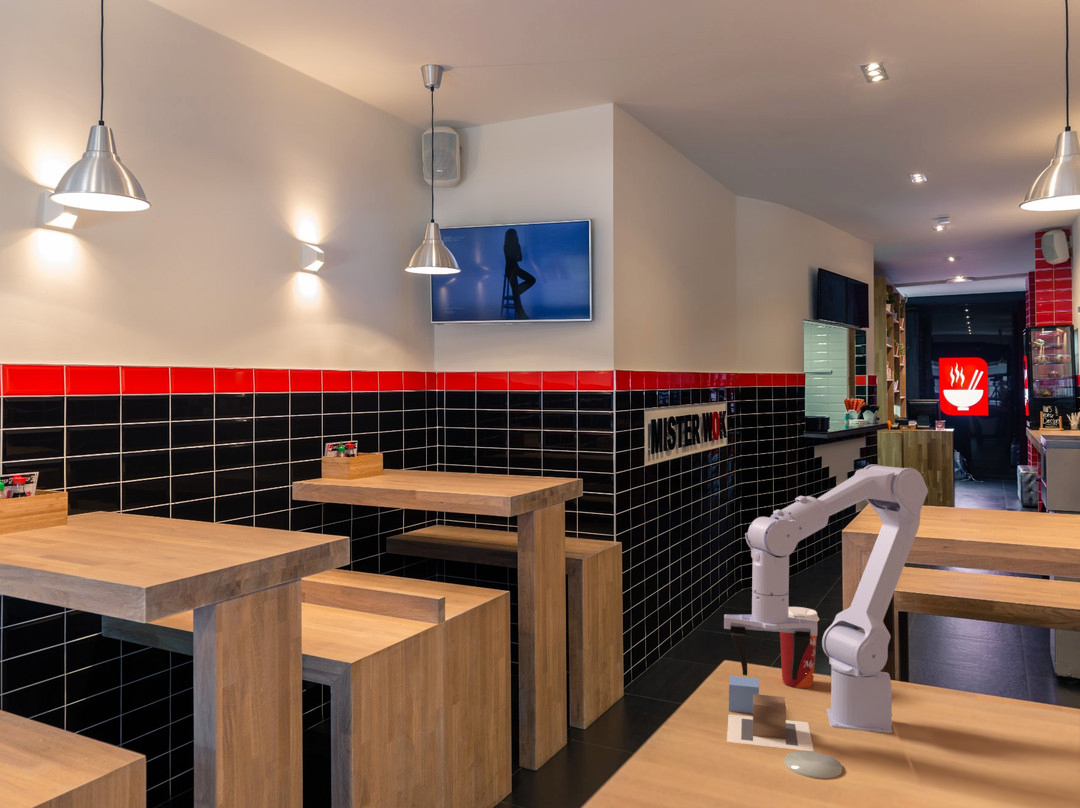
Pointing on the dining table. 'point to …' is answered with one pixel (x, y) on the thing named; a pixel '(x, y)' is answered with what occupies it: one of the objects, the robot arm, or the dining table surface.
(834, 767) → the saucer
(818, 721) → the dining table surface
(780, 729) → the walnut block
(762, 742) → the letter card
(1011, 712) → the dining table surface
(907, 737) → the dining table surface
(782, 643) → the paper cup
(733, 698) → the blue cube
